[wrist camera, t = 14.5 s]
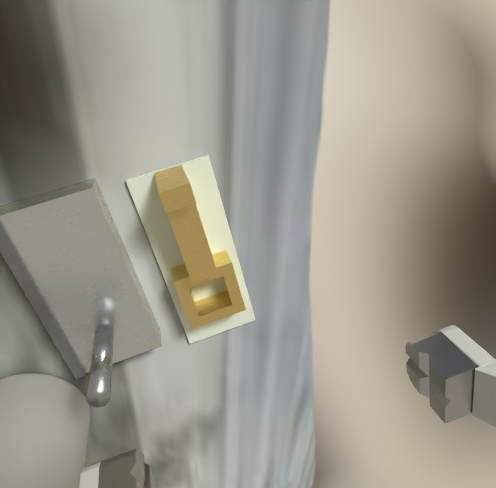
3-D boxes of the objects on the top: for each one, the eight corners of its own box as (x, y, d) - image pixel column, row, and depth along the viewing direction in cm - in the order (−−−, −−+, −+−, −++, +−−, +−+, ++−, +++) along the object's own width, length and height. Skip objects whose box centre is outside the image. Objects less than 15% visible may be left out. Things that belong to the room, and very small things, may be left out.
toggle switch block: (-6, 208, 37) (-61, 271, 26) (95, 178, 38) (81, 226, 27) (79, 357, 45) (64, 451, 34) (159, 329, 46) (168, 411, 36)
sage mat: (125, 180, 39) (125, 181, 38) (208, 155, 40) (208, 156, 39) (189, 341, 48) (189, 343, 47) (254, 318, 49) (255, 320, 48)
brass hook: (136, 178, 38) (137, 199, 33) (198, 159, 39) (210, 176, 33) (187, 313, 46) (196, 349, 40) (239, 295, 46) (254, 328, 41)
